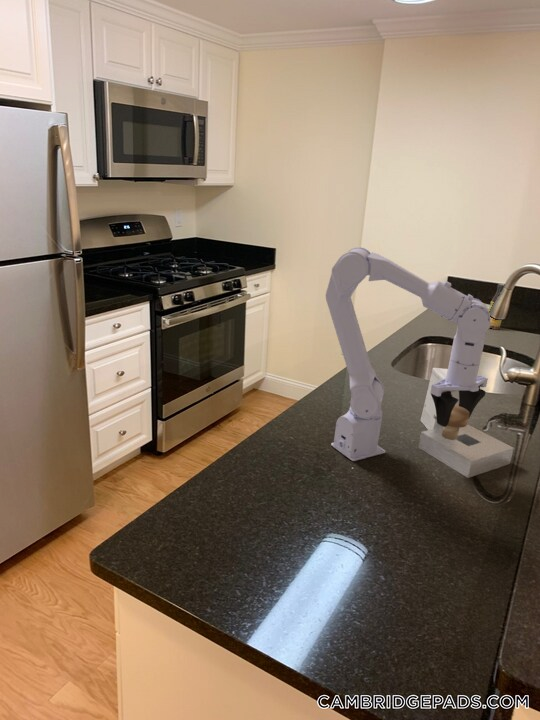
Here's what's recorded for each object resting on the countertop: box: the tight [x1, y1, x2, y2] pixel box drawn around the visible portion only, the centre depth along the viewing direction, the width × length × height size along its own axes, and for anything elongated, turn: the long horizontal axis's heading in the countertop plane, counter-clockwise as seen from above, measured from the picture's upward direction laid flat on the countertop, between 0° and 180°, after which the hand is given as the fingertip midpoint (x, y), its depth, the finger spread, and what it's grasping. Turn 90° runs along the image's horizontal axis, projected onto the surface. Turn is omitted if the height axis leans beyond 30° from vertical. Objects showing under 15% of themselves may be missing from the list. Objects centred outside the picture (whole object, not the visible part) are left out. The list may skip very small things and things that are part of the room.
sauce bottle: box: [488, 282, 505, 330], centre depth 232 cm, size 6×6×20 cm
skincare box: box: [420, 367, 459, 430], centre depth 129 cm, size 8×6×15 cm
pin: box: [442, 405, 470, 440], centre depth 111 cm, size 6×6×6 cm
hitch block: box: [417, 423, 515, 479], centre depth 119 cm, size 14×14×4 cm
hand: (452, 422), depth 111 cm, fingers closed on pin, 6 cm apart
